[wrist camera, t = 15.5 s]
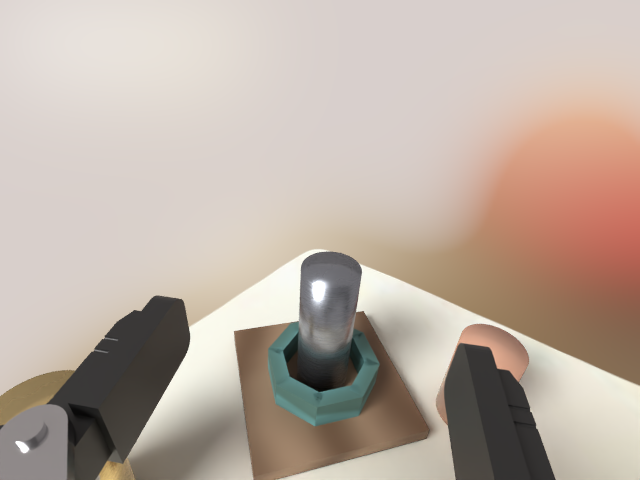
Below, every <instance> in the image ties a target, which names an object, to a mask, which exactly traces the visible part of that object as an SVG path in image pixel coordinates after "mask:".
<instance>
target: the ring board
mask: <svg viewBox="0 0 640 480" xmlns="http://www.w3.org/2000/svg"><path fill="white" fill-rule="evenodd" d="M298 334H299V321H297V322H291V323H284V324H278V325H271V326H265V327H258V328H252V329H245V330H239V331H234V337H235V346H236V353H237V361H238V368H239V375H240V383H241V390H242V398H243V405H244V412H245V420H246V427H247V434H248V442H249V449H250V457H251V464H252V471H253V479H254V480H275V479H279V478H283V477H286V476H290V475H294V474H298V473H301V472H305V471H309V470H312V469H316V468H320V467H323V466H327V465H331V464H334V463H338V462H342V461H345V460H349V459H353V458H356V457H360V456H364V455H367V454H371V453H375V452H378V451H382V450H386V449H389V448H393V447H397V446H400V445H404V444H408V443H411V442H415V441H419V440H422V439H426V438H427V435H428V433H429V428H428V426H427V425H426V423H425V421H424V419H423V417H422V416H421V414H420V412H419V410H418V408H417V407H416V405H415V403H414V401H413V399H412V398H411V396H410V394H409V392H408V390H407V389H406V387H405V385H404V383H403V381H402V380H401V378H400V376H399V374H398V372H397V371H396V369H395V367H394V365H393V363H392V362H391V360H390V358H389V356H388V354H387V353H386V351H385V349H384V347H383V345H382V344H381V342H380V340H379V338H378V336H377V335H376V333H375V331H374V329H373V327H372V326H371V324H370V322H369V320H368V318H367V317H366V315H365V313H364V311H362V312H356V315H355V322H354V329H353V335H352V342H351V349H350V355H349V362H348V369H347V376H346V382H345V385H344V387H341V388H337V389H332V390H327V391H323V392H318V391H316V390H314V389H312V388H310V387H308V386H306V385H304V384H303V383H301V382H299V381H297V360H298Z"/></svg>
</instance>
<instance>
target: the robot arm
mask: <svg viewBox="0 0 640 480" xmlns="http://www.w3.org/2000/svg"><path fill="white" fill-rule="evenodd" d="M189 343H190V332H189V326H188V321H187V316H186V310H185V306H184V302H183V300H182V299H177V298H170V297H164V296H154V297H153V298H152V299H151V300H150V301H149V302H148V303H147V305H146V306H145V307H144V309H143V310H142V311H136V310H134V311H133V312H131V313H130V314H128V315H127V316H125V317H124V318H122V319H121V320H119V321H118V322H117V323H116V324H115V325H114V326H113V327H112V329H111V330H110V331H109V332H108V333H107V335H105V338H104V339H102V340H101V341H100V343H99V344H98V345H97V346H96V347H95V350H94V352H91V353H90V354H89V355H88V357H87V358H86V359H85V360H84V361H83V362H82V364H81V365H80V366H79V367H78V368H77V370H76V371H75V372H74V373H73V374H72V375H71V377H70V378H69V379H68V380H67V381H66V382H65V384H64V385H63V386H62V387H61V388H60V389H59V391H58V392H57V393H56V394H55V395H54V396H53V398H52V399H51V400H50V401H49V402H48V403H47V404H45V405H39V406H35V407H32V408H30V409H27V410H25V411H23V412H21V413H20V414H18V415H16V416H15V417H13V418H12V419H11V420H9V421H8V422H7V423H6V424H5V425H0V480H100V476H99V474H100V472H101V470H102V469H103V467H104V465H105V464H106V462H107V461H111V462H116V463H121V464H123V463H124V461H125V460H126V458H127V456H128V454H129V453H130V451H131V449H132V448H133V446H134V444H135V442H136V441H137V439H138V437H139V435H140V434H141V432H142V430H143V428H144V427H145V425H146V423H147V421H148V420H149V418H150V416H151V415H152V413H153V411H154V409H155V408H156V406H157V404H158V402H159V401H160V399H161V397H162V395H163V394H164V392H165V390H166V388H167V387H168V385H169V383H170V382H171V380H172V378H173V376H174V375H175V373H176V371H177V369H178V368H179V366H180V364H181V362H182V361H183V359H184V357H185V355H186V353H187V351H188V348H189ZM444 400H445V408H446V414H447V421H448V428H449V435H450V442H451V449H452V456H453V463H454V470H455V477H456V480H555V477H554V474H553V471H552V468H551V466H550V463H549V460H548V457H547V454H546V451H545V449H544V446H543V443H542V440H541V437H540V435H539V432H538V429H536V423H535V420H534V418H533V415H532V412H530V406H529V403H528V401H527V398H526V395H525V392H524V389H523V388H522V386H521V385H520V384H519V383H518V381H517V380H516V379H515V377H514V376H513V375H512V373H511V372H510V371H509V370H504V369H497V366H496V363H495V359H494V356H493V353H492V350H491V349H490V348H489V347H485V346H479V345H472V344H466V343H460V344H459V345H458V347H457V349H456V352H455V355H454V357H453V360H452V363H451V365H450V368H449V371H448V373H447V376H446V379H445V385H444Z"/></svg>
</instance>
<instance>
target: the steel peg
mask: <svg viewBox="0 0 640 480" xmlns="http://www.w3.org/2000/svg"><path fill="white" fill-rule="evenodd" d="M361 275H362V269H361V267H360V265H359V263H358V262H357V261H356V260H354V259H353V258H351V257H350V256H347V255H344V254H342V253H337V252H319V253H315V254H313V255H310V256H309V257H307V258H306V259H305V260H304V261H303V263H302V265H301V283H300V309H299V334H298V360H297V381H299V382H301V383H303V384H304V385H306V386H308V387H310V388H312V389H314V390H316V391H318V392H323V391H327V390H332V389H337V388H341V387H344V385H345V382H346V376H347V369H348V362H349V355H350V349H351V342H352V335H353V329H354V322H355V315H356V308H357V302H358V295H359V288H360V281H361Z"/></svg>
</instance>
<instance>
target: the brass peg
mask: <svg viewBox="0 0 640 480" xmlns="http://www.w3.org/2000/svg"><path fill="white" fill-rule="evenodd" d="M74 372H75V371H72V370H69V371H68V370H66V371H55V372H51V373H46V374H43V375H39V376H36V377H34V378H31V379H29V380H27V381H25V382H22V383H21V384H19V385H17V386H15V387H13V388H12V389H10V390H9V391H7V392H6V393H4V394H3V395H1V396H0V425H5V424H6V423H7V422H8V421H9V420H11V419H12V418H13V417H15V416H16V415H18V414H20V413H21V412H23V411H25V410H27V409H30V408H32V407H35V406H39V405H45V404H47V403H48V402H49V401H50V400H51V399H52V398H53V396H54V395H55V394H56V393H57V392H58V391H59V389H60V388H61V387H62V386H63V385H64V384H65V382H66V381H67V380H68V379H69V378H70V377H71V375H72V374H73V373H74ZM99 476H100V480H135V477H134V474H133V471H132V469H131V466H130V463H129V461H128V458H126V460H125V461H124V463H123V464H121V463H116V462H111V461H107V462H106V464H105V465H104V467H103V469H102V470H101V472H100V474H99Z"/></svg>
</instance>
